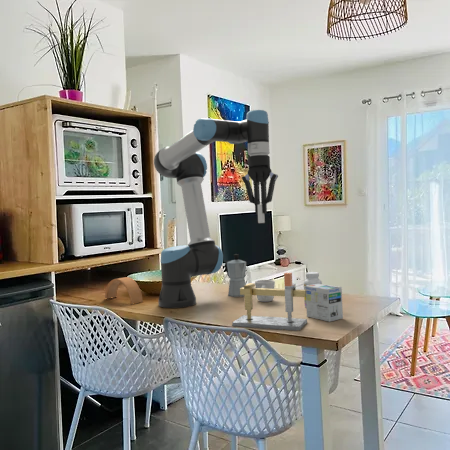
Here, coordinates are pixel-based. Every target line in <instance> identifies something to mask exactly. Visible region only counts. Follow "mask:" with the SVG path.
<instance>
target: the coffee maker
mask: <svg viewBox="0 0 450 450" xmlns="http://www.w3.org/2000/svg"><path fill="white" fill-rule="evenodd" d="M239 257H240V255H239V253H238V254H237V253H235V254H233V258H234V259H231V260H227V261H225V263H224V269H225V272H226V275H227V277H228V278H229V285H228V291H227V292H228V294H227V296H228V297H231V298H243V297H244V295H240V288H244V285H247V283H246V280H245V278H246V272H247V271H246V270H247V261H245V260H242V259H239Z"/></svg>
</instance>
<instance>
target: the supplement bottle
mask: <svg viewBox="0 0 450 450" xmlns="http://www.w3.org/2000/svg"><path fill="white" fill-rule="evenodd" d="M319 276H320V272H316V271H309V272H306V273H305V277H306V279H305V280H303V290H306V286H307V285H314V284H323V281H322V280H321V279H320V278H319ZM303 298H304V308H306V297H303Z"/></svg>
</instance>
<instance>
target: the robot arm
mask: <svg viewBox="0 0 450 450" xmlns="http://www.w3.org/2000/svg"><path fill="white" fill-rule="evenodd" d="M269 123H270V121H269V115H268V112H267V111H266V110H264V109H253V110H250V111H248V112H247V113H246V117H245V119H244V120H241V121H234V120H225V119H217V118H216V119H215V118H210V117H207V118H206V117H205V118H203V117H202V118H201V117H200V118H198V119H196V121H195V123H194V124H193V129H192V130H191V131H190V132H188V133H187V134H185V135H183V137H181V138H179V139H178V140H177V141H176V142H174V143H172V144H171V145H170V146H164V147H162V148H161V149H160V150H158V151H157V152H156V154H155V155H154V158H153V165H154V168H155V170H156V172H157V173H158V174H159V175H160V176H162V177H165V178H169V179H176V184H177V185H178V186H179V187H180V189H181V192H182V198H183V206H184V210H185V217H186V224H187V228H188V233H189V234H188V235H189V240H190V241H189V242H188V244H186V245H185V244H182V245H181V244H180V245H176V246H175V245H174V246H170V247H167V248H164V249H162V251H161V252H160V267H161V269H160V271H161V290H160V293H159V296H158V307H161V308H164V309H165V308H166V309H178V308H187V307H192V306H195V305H196V304H197V297H196V295H195V292H194V289H193V287H192V281H191V280H192V279H191V278H192V277H197V276H203V275H212V274H216V273H218V272H219V271H220V270H221V268H222V265H223V262H224V254H223V250H222V249H221V247H220V246H219V245H216V241H215V240H214V239H213V238H212V237H211V233H210V226H209V223H208V221H209V220H208V217H207V210H206V204H205V198H204V194H203V188H202V187H203V186H202V183H203V182H204V179H205V176H207V175H206V174H207V170H208V163H207V161H206V158H205V156H204V155H203V154H202V153H200V152H199V151H201V150H203V149H204V148H206V147H207V146H209V145H210V144H212V143H214V142H224V143H229V144H230V145H239V144H242V143H246V142H247V155H248V157H247V158H248V159H247V162H248V171H247V173H246V174H245V175H243V176H242V177H241V180H242V181H243V182H244V186H245V189H246V193H247V198H248V200H249V203H251V204H254V209H255V210H254V211H255V214H257V223H258V224H265V223H266V221H265V220H266V219H265V214H267V211H268V207H267V205H268V204H269V203H271V202H272V201H273V196H274V189H275V185H276V181H277V179H278V177H279V175H278V174H276V173H274V172H273V171H272V169H271V158H270V156H269V154H270V132H269V131H270V130H269ZM269 178H270V180H269V184H268V188H267V181H268V179H269ZM250 180H252V183H251V182H250ZM252 184H253V188H252ZM267 189H268V190H267ZM260 197H261V198H260Z"/></svg>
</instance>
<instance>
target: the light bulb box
mask: <svg viewBox="0 0 450 450" xmlns="http://www.w3.org/2000/svg"><path fill="white" fill-rule="evenodd" d="M342 288H343V287H342V286H338V285H330V284H323V283H322V284H314V285H307V286H306V295H307V296H306V307H305V308H306V317H308V318H313V319H316V320H319V321H325V322H330V323H331V322H333V321H337V320H342V319H343V318H344V314H343V313H344V311H343V294H342V293H343V291H342V290H343V289H342Z"/></svg>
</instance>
